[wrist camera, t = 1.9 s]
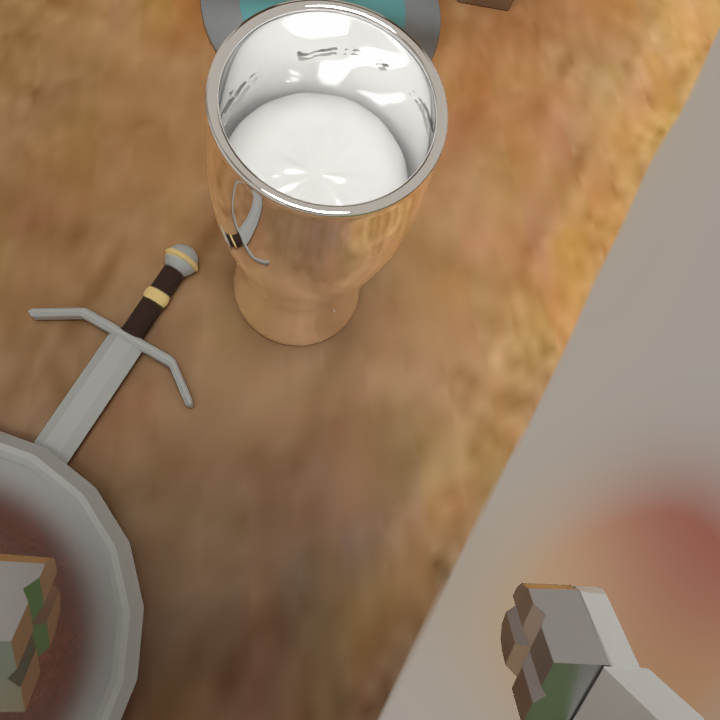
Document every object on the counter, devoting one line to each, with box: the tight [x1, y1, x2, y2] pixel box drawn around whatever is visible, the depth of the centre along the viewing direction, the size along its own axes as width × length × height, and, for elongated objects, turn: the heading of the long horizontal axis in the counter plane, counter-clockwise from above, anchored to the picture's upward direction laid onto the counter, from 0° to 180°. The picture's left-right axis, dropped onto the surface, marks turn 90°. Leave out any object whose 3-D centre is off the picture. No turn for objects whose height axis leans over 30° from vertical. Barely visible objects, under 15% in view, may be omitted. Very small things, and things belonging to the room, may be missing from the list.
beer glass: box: [205, 0, 448, 346], centre depth 25 cm, size 7×7×15 cm
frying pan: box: [0, 244, 198, 720], centre depth 27 cm, size 17×3×28 cm
